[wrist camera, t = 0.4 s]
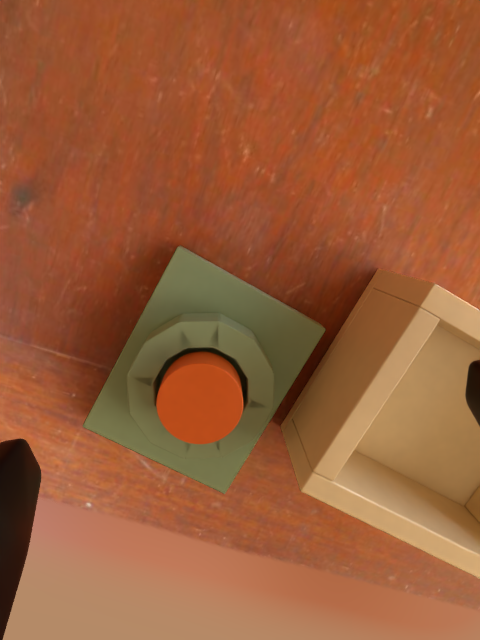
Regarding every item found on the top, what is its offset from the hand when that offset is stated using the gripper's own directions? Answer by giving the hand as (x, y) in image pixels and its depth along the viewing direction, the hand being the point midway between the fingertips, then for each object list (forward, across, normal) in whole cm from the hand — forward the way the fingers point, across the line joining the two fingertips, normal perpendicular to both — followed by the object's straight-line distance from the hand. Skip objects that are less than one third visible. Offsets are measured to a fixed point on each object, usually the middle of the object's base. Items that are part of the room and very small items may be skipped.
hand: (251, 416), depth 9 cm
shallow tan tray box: (+11, -9, +10) cm, 17 cm away
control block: (+12, +2, +6) cm, 14 cm away
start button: (+9, +2, +6) cm, 11 cm away
